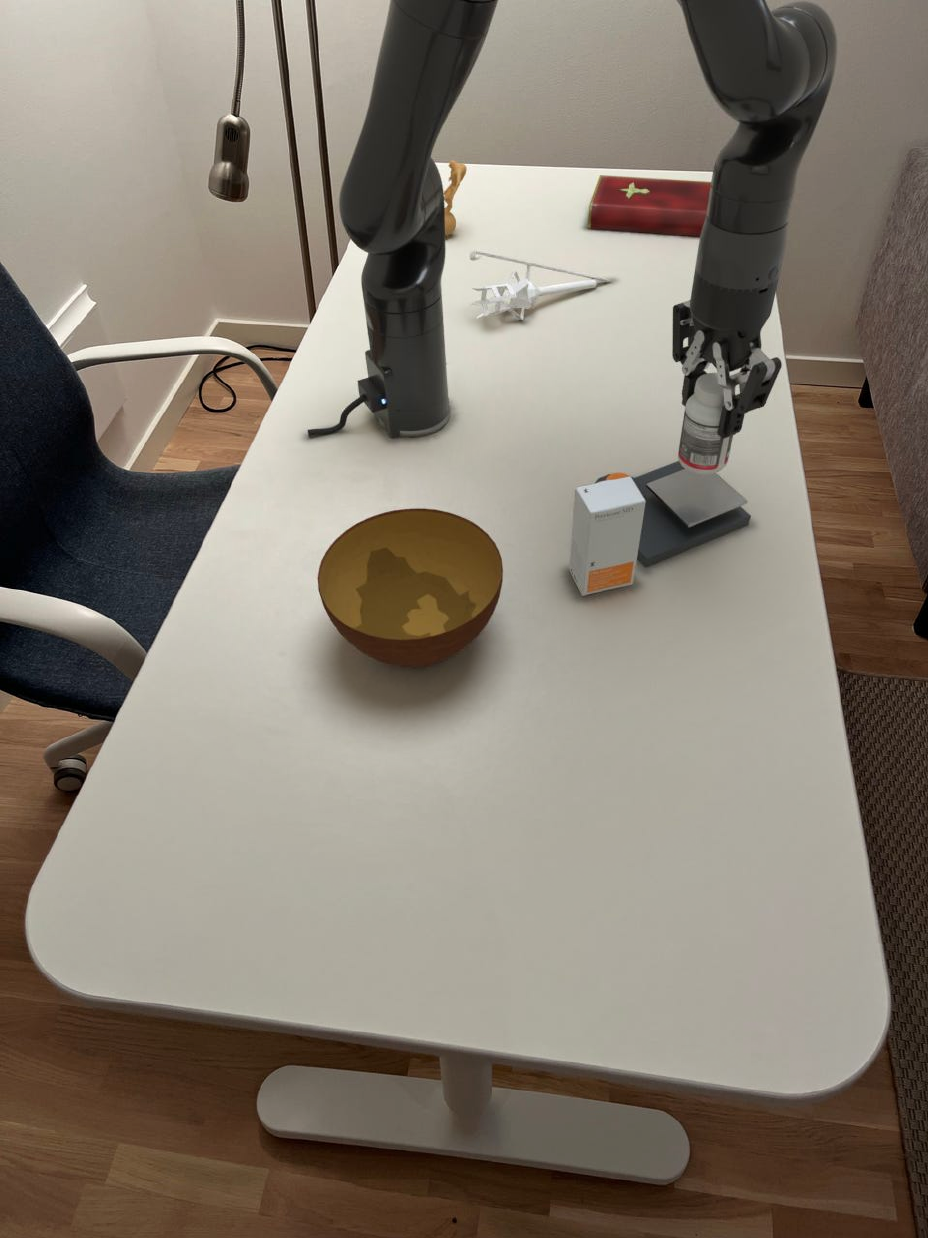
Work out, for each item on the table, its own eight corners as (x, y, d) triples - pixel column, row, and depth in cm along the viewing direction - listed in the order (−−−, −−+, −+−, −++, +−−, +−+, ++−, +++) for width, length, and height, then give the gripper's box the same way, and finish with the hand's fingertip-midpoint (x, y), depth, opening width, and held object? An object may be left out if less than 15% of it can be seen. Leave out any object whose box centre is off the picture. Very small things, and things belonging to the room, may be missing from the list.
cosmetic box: (582, 598, 99) (588, 513, 90) (568, 571, 101) (573, 486, 93) (635, 585, 100) (647, 500, 91) (620, 559, 102) (630, 473, 93)
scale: (642, 569, 101) (644, 549, 99) (581, 503, 109) (582, 484, 107) (748, 524, 105) (753, 504, 103) (682, 464, 113) (686, 444, 111)
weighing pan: (688, 527, 101) (688, 525, 101) (645, 486, 106) (645, 483, 105) (747, 503, 103) (748, 500, 103) (702, 464, 108) (703, 461, 108)
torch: (593, 342, 147) (456, 318, 134) (599, 283, 146) (461, 253, 133) (619, 339, 142) (478, 313, 129) (625, 277, 140) (484, 245, 128)
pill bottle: (699, 438, 104) (713, 362, 96) (738, 461, 101) (755, 383, 93) (666, 459, 101) (678, 382, 94) (704, 483, 98) (719, 405, 91)
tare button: (614, 504, 104) (615, 492, 103) (599, 489, 106) (600, 477, 105) (636, 495, 105) (638, 483, 104) (621, 481, 107) (623, 469, 106)
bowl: (377, 561, 104) (366, 492, 96) (527, 599, 99) (528, 530, 91) (302, 679, 93) (283, 611, 85) (467, 728, 88) (462, 661, 81)
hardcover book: (716, 238, 151) (721, 213, 147) (587, 229, 155) (589, 204, 151) (721, 206, 158) (725, 180, 155) (598, 197, 162) (600, 173, 159)
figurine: (433, 223, 158) (428, 150, 149) (468, 222, 158) (465, 148, 149) (432, 247, 153) (427, 172, 144) (469, 245, 153) (466, 170, 144)
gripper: (657, 243, 88) (639, 395, 100) (756, 311, 79) (723, 469, 92) (721, 224, 90) (696, 375, 102) (825, 288, 81) (783, 445, 94)
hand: (709, 418), depth 97 cm, fingers closed on pill bottle, 5 cm apart
